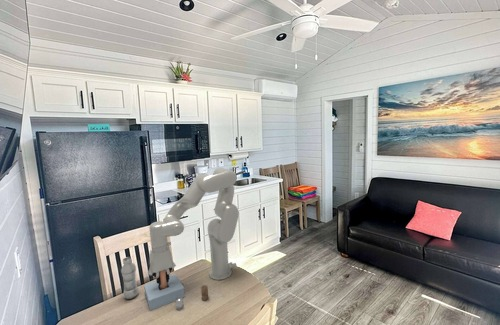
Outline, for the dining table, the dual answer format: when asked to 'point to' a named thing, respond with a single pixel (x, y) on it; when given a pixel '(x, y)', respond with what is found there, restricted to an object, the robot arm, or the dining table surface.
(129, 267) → the plastic bottle
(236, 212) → the robot arm
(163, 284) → the long pin
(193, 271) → the dining table surface
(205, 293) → the mid pin
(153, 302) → the hole block
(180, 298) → the short pin
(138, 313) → the dining table surface
